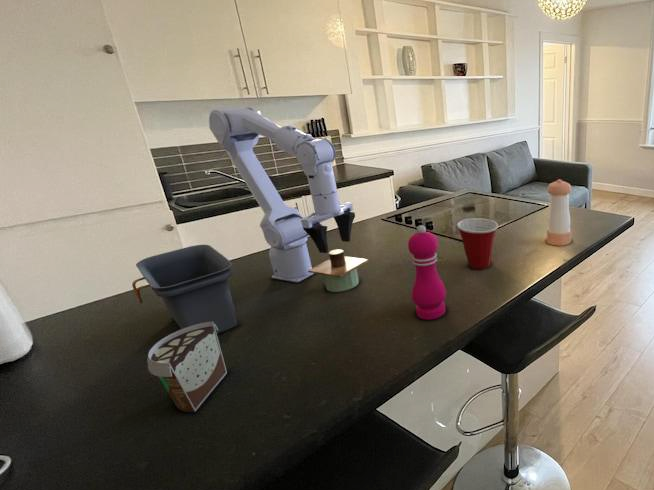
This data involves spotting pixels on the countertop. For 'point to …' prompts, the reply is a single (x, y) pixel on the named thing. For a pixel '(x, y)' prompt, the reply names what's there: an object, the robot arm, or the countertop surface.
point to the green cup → (341, 281)
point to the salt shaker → (559, 213)
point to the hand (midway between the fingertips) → (335, 246)
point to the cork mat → (339, 270)
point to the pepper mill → (426, 275)
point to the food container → (188, 364)
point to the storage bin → (191, 285)
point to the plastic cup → (478, 240)
